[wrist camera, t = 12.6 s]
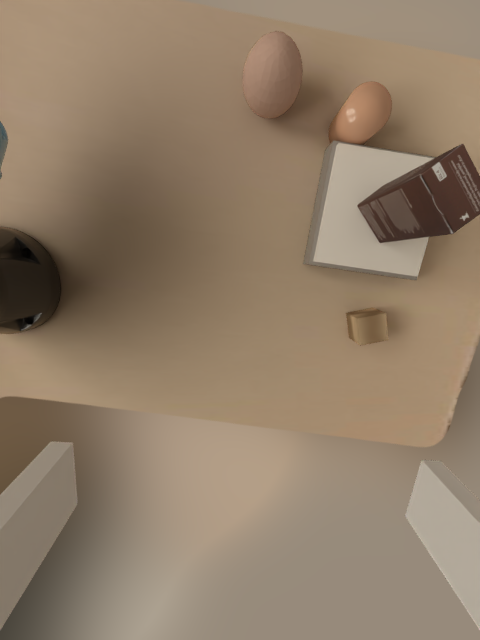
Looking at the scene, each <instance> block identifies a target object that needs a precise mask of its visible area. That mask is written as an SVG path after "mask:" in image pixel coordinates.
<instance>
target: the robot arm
mask: <svg viewBox="0 0 480 640" xmlns="http://www.w3.org/2000/svg"><path fill="white" fill-rule="evenodd" d="M7 144H8V136H7V132H6V130H5V128H4V126H3V124H2V123H1V122H0V169H1V166H2V162H3V159H4V155H5V151H6V148H7ZM1 177H2V173H1V171H0V179H1ZM60 290H61V287H60V278H59V274H58V271H57V268H56V266H55V264H54V262H53V260H52V258H51V257H50V255H49V254H48V253H47V251H46V250H45V249H44V248H43V247H42V246H41V245H40V244H39V243H38V242H37V241H35V240H34V239H33V238H31V237H30V236H28V235H26V234H24V233H22V232H20V231H18V230H15V229H11V228H6V227H0V334H14V333H19V332H23V331H26V330H29V329H32V328H35V327H37V326H39V325H41V324H43V323H44V322H45V321H47V320H48V319H49V318H50V317H51V315H52V314H53V313H54V311H55V309H56V307H57V305H58V302H59V299H60ZM77 504H78V503H77V490H76V477H75V465H74V451H73V443H70V442H50V443H49V444H48V445H47V446H46V447H45V448H44V450H43V451H42V452H41V453H40V454H39V455H38V456H37V457H36V458H35V459H34V460H33V461H32V462H31V463H30V464H29V465H28V466H27V467H26V468H25V469H24V470H23V472H22V473H21V474H20V475H19V476H18V477H17V478H16V479H15V480H14V481H13V482H12V483H11V484H10V485H9V486H8V487H7V488H6V489H5V490H4V492H3V493H2V494H1V495H0V630H1V628H2V626H3V625H4V623H5V622H6V620H7V618H8V616H9V615H10V613H11V612H12V610H13V609H14V607H15V605H16V604H17V602H18V600H19V599H20V597H21V595H22V594H23V592H24V590H25V589H26V587H27V586H28V584H29V582H30V581H31V579H32V577H33V576H34V574H35V572H36V571H37V569H38V568H39V566H40V564H41V563H42V561H43V559H44V558H45V556H46V554H47V553H48V551H49V550H50V548H51V546H52V545H53V543H54V541H55V539H56V538H57V536H58V535H59V533H60V531H61V530H62V528H63V526H64V525H65V523H66V522H67V520H68V518H69V517H70V515H71V514H72V512H73V510H74V509H75V507H76V505H77ZM405 517H406V518H407V520H408V521H409V523H410V524H411V526H412V527H413V529H414V530H415V532H416V534H417V535H418V537H419V538H420V540H421V541H422V543H423V544H424V546H425V547H426V549H427V550H428V552H429V553H430V555H431V557H432V558H433V560H434V561H435V562H436V564H437V566H438V567H439V569H440V570H441V572H442V573H443V575H444V576H445V578H446V579H447V581H448V583H449V584H450V586H451V587H452V589H453V590H454V592H455V593H456V595H457V596H458V598H459V599H460V601H461V602H462V604H463V605H464V607H465V608H466V610H467V611H468V613H469V615H470V616H471V618H472V619H473V620H474V622H475V624H476V625H477V627H478V628H479V630H480V500H479V499H478V498H477V497H476V496H475V495H474V494H473V493H472V492H471V491H470V490H469V489H468V488H467V487H466V486H465V485H464V484H463V483H462V482H461V481H460V480H459V479H458V478H457V477H456V476H455V475H454V474H453V473H452V472H451V471H450V470H449V469H448V468H447V467H446V466H445V465H444V464H443V463H442V462H441V461H432V460H422V461H421V464H420V468H419V471H418V474H417V478H416V481H415V484H414V488H413V491H412V494H411V498H410V502H409V505H408V509H407V511H406V515H405Z"/></svg>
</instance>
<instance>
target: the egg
mask: <svg viewBox="0 0 480 640" xmlns="http://www.w3.org/2000/svg"><path fill="white" fill-rule="evenodd" d="M302 71H303V70H302V61H301V56H300V53H299V50H298V48H297V46H296V44H295V42H294V41H293V40H292V38H291V37H289V36H288V35H286V34H285V33H283V32H278V31H275V32H270V33H268V34H265V35H264V36H262V37H261V38H260V39H259V40H258V41H257V42H256V43H255V45H254V46H253V47H252V49H251V50H250V52H249V54H248V56H247V59H246V62H245V66H244V70H243V91H244V96H245V99H246V101H247V103H248V105H249V107H250V108H251V109H252V111H253V112H254V113H256V114H257V115H259V116H260V117H263V118H276V117H279V116H280V115H282V114H284V113H285V112H286V111H287V110H288V109H289V108H290V107H291V106H292V104H293V103H294V101H295V99H296V97H297V95H298V93H299V89H300V86H301V81H302Z"/></svg>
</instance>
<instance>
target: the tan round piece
mask: <svg viewBox="0 0 480 640" xmlns="http://www.w3.org/2000/svg"><path fill="white" fill-rule="evenodd" d="M391 109H392V101H391V97H390V94H389V92H388V90H387V89H386V88H385V87H384V86H383V85H381V84H380V83H377V82H366V83H363V84H361V85H359V86H358V87H357V88H356V89H355V90H354V91H353V92H352V93H351V95H350V96H349V98H348V99H347V101H346V102H345V103H344V105H343V106H342V108H341V109H340V111H339V112H338V114H337V115H336V116H335V118H334V119H333V121H332V123H331V125H330V128H329V140H330V143H332V141H333V140H334V141H340V142H346V143H352V144H359V145H363V144H364V143H365V142H366V141H367V140H369V139H370V138H371V137H372V136H373V135H374V134H375V133H376V132H378V131H379V130H380V129H381V128H382V127H383V126H384V125H385V124H386V122H387V121H388V119H389V117H390V114H391Z"/></svg>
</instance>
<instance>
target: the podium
mask: <svg viewBox="0 0 480 640" xmlns="http://www.w3.org/2000/svg"><path fill="white" fill-rule="evenodd" d="M434 158H436V157H431V156H425V155H419V154H413V153H407V152H401V151H395V150H389V149H383V148H377V147H371V146H365V145H359V144H352V143H346V142H340V141H334V140H333V141H332V143H331V144H330V145H329V146H328V147H327V149H326V150H325V154H324V159H323V164H322V169H321V175H320V180H319V185H318V190H317V195H316V201H315V206H314V211H313V216H312V221H311V227H310V232H309V237H308V242H307V247H306V252H305V258H304V263H303V264H307V265H314V266H321V267H328V268H335V269H342V270H348V271H355V272H362V273H369V274H376V275H383V276H389V277H396V278H403V279H410V280H417V277H418V274H419V270H420V267H421V263H422V260H423V257H424V253H425V250H426V246H427V243H428V239H429V237H424V238H416V239H408V240H401V241H393V242H385V243H379V241H378V239H377V238H376V236H375V234H374V233H373V231H372V230H371V228H370V226H369V225H368V223H367V221H366V220H365V218H364V217H363V215H362V213H361V212H360V210H359V208H358V207H357V205H358V204H359V203H360V202H362V201H363V200H365V199H366V198H367V197H369V196H370V195H371V194H373V193H374V192H375V191H376V190H378V189H379V188H380V187H382V186H383V185H385V184H387V183H389V182H391V181H393V180H395V179H397V178H398V177H400V176H402V175H404V174H406V173H408V172H409V171H411V170H413V169H415V168H417V167H419V166H421V165H423V164H425V163H427V162H428V161H430V160H432V159H434Z"/></svg>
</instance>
